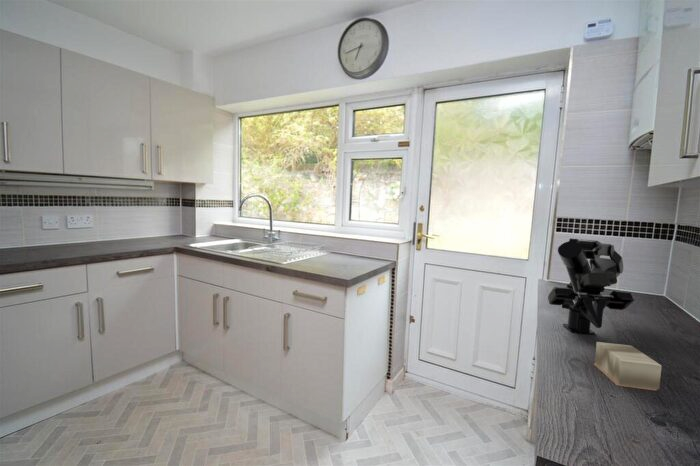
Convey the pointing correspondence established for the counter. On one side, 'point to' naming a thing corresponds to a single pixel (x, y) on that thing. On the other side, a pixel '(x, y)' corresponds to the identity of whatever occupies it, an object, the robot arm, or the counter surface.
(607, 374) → the pad
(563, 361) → the counter surface
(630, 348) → the birch block
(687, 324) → the counter surface
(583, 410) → the counter surface
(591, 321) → the robot arm
